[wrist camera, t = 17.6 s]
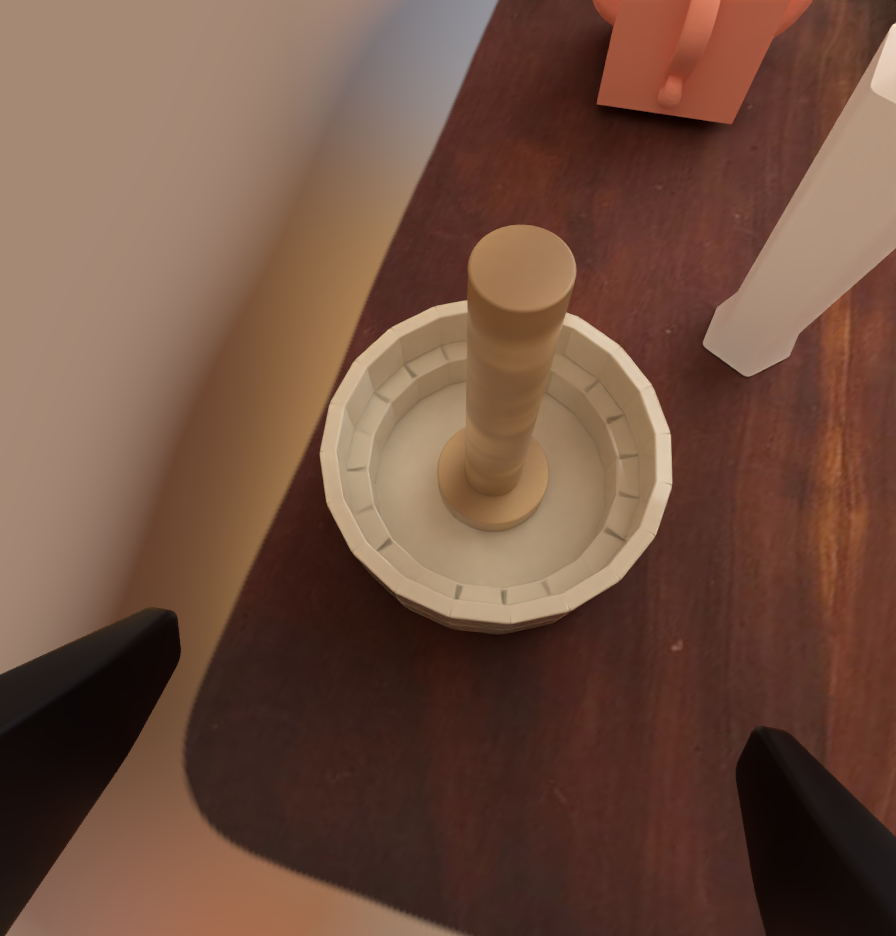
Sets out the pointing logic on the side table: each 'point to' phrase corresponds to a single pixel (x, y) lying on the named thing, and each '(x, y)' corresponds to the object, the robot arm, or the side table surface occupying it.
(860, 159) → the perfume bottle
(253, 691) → the side table surface
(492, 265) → the tan post
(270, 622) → the side table surface
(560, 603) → the bowl
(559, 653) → the side table surface
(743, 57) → the teapot
